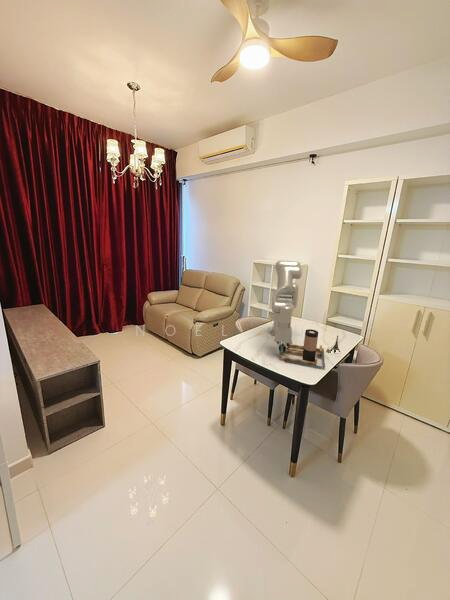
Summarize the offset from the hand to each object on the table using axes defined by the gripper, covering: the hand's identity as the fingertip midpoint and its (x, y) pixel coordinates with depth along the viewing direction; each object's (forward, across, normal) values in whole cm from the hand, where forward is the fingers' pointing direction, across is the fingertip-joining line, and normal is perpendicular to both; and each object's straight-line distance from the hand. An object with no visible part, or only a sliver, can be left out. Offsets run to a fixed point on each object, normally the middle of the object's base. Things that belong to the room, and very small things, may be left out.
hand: (282, 351), depth 159 cm
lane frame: (+4, +14, +5) cm, 15 cm away
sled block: (+4, +14, +12) cm, 19 cm away
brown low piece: (+4, +10, 0) cm, 11 cm away
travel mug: (+4, +17, 0) cm, 17 cm away
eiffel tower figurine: (+4, +34, +22) cm, 41 cm away
